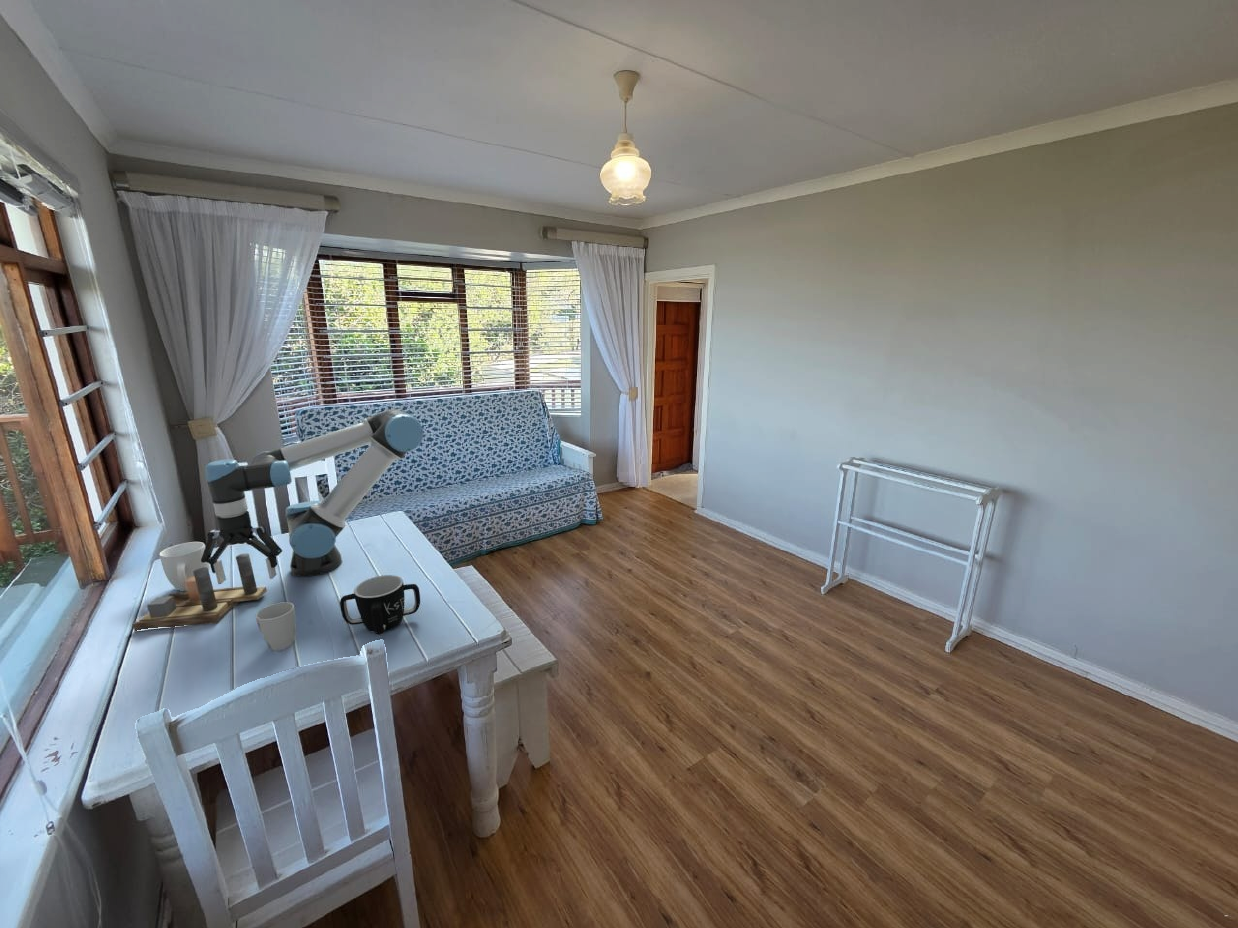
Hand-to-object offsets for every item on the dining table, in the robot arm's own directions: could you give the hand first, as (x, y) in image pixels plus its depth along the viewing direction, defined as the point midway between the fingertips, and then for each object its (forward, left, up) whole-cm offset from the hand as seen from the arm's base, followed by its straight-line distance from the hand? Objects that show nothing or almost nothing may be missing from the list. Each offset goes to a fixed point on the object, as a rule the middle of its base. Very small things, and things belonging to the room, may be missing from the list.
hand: (248, 579), depth 149 cm
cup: (-18, +27, -7) cm, 33 cm away
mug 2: (-42, +23, -7) cm, 49 cm away
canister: (+14, 0, -4) cm, 14 cm away
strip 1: (+14, +8, -6) cm, 16 cm away
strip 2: (+6, 0, -6) cm, 9 cm away
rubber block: (+19, +8, -4) cm, 20 cm away
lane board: (+14, +4, -7) cm, 16 cm away
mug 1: (+23, -12, -7) cm, 27 cm away
